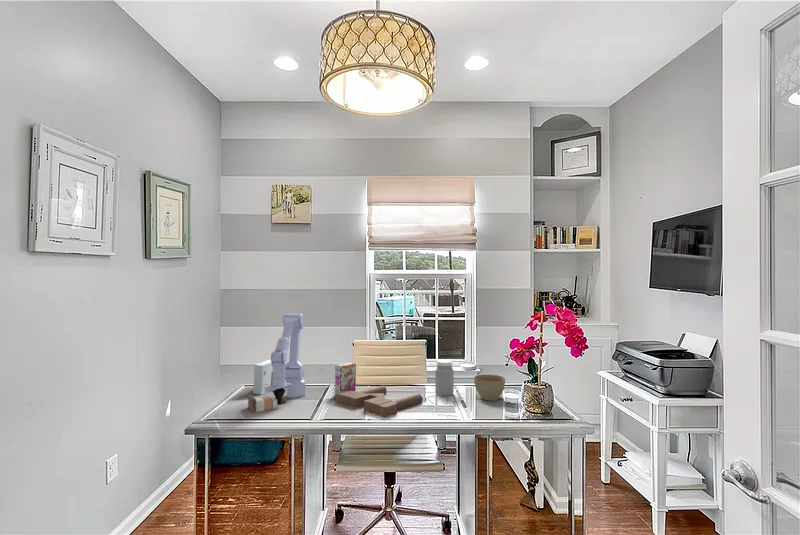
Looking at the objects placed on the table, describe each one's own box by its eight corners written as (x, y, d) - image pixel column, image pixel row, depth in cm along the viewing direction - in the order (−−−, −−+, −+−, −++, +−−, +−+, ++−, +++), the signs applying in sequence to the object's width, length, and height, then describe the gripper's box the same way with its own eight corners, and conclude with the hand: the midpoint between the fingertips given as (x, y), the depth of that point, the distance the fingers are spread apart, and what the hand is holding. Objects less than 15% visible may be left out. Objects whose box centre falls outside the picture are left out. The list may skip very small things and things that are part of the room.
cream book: (261, 407, 223) (261, 397, 223) (264, 411, 218) (264, 400, 218) (252, 409, 221) (252, 398, 221) (255, 412, 216) (255, 401, 216)
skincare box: (262, 395, 249) (262, 365, 249) (252, 394, 250) (253, 364, 250) (280, 385, 270) (280, 358, 270) (271, 385, 271) (271, 357, 271)
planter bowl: (495, 393, 254) (495, 373, 254) (511, 401, 238) (511, 380, 238) (468, 395, 249) (468, 375, 249) (483, 403, 233) (483, 382, 234)
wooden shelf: (285, 404, 232) (285, 390, 232) (291, 409, 223) (291, 395, 223) (248, 409, 223) (248, 395, 223) (252, 414, 214) (252, 400, 214)
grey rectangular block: (273, 405, 226) (273, 396, 226) (277, 408, 221) (277, 399, 221) (269, 406, 225) (269, 396, 225) (272, 409, 220) (272, 399, 220)
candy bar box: (340, 397, 244) (340, 366, 244) (334, 396, 247) (334, 365, 247) (356, 393, 252) (356, 363, 253) (350, 392, 256) (350, 362, 256)
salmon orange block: (269, 406, 226) (269, 396, 226) (272, 409, 220) (272, 399, 220) (260, 407, 224) (261, 397, 224) (263, 410, 218) (264, 400, 219)
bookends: (385, 418, 211) (426, 405, 233) (385, 406, 211) (426, 394, 233) (335, 404, 235) (377, 393, 256) (335, 393, 235) (377, 383, 256)
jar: (456, 393, 253) (456, 360, 254) (449, 397, 245) (449, 363, 245) (439, 391, 258) (439, 358, 258) (432, 395, 249) (432, 361, 249)
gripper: (285, 372, 232) (285, 399, 232) (261, 377, 221) (260, 406, 221) (294, 374, 228) (294, 402, 228) (270, 379, 217) (270, 409, 216)
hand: (278, 404), depth 224 cm, fingers closed
